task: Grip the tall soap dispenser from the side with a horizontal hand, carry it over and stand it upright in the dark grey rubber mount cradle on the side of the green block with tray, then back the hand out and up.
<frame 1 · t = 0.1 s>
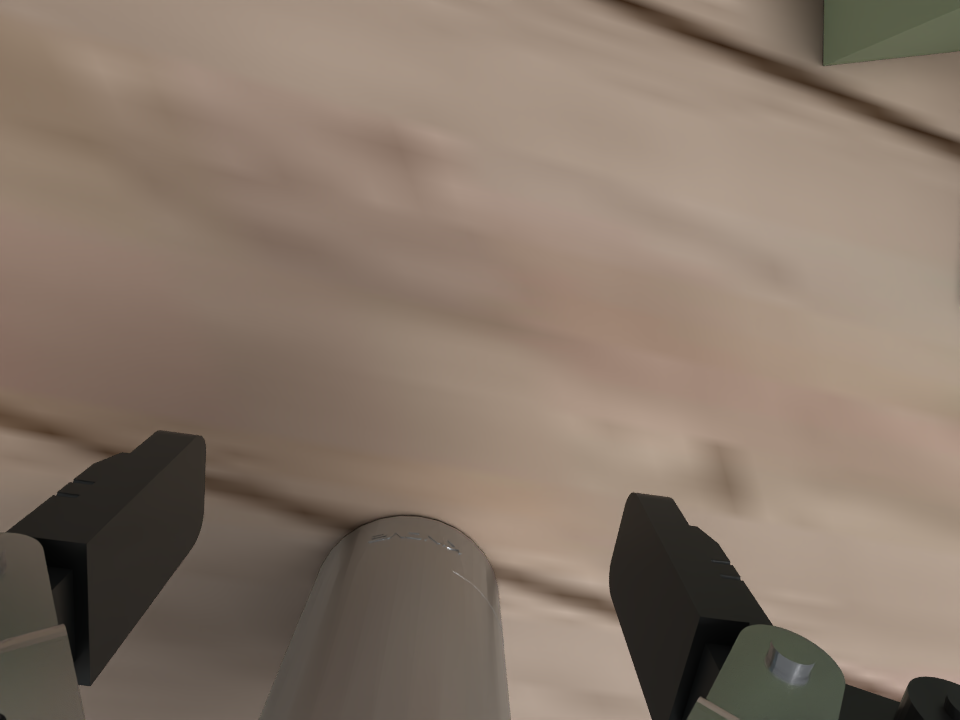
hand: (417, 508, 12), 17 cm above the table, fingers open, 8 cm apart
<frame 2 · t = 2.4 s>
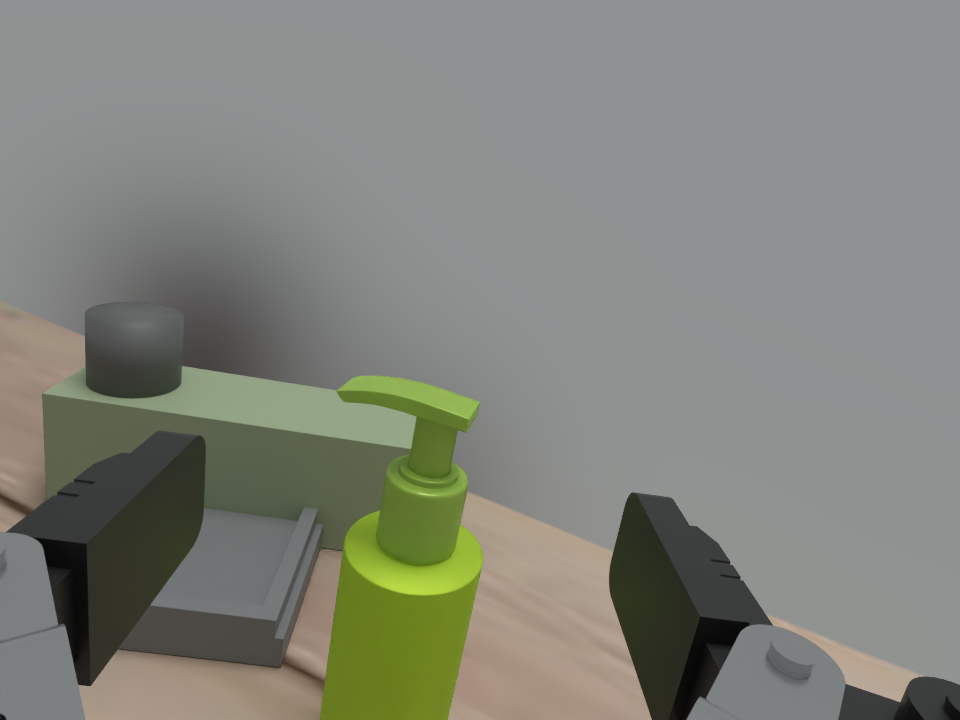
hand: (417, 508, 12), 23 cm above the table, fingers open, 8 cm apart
green block with tray: (210, 582, 40), on the table
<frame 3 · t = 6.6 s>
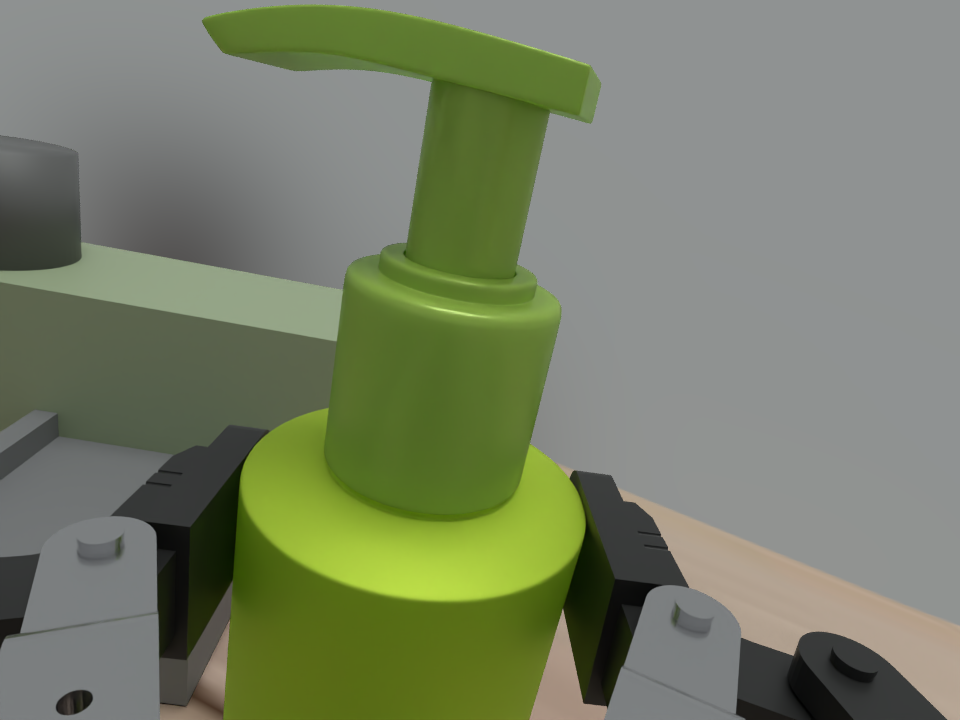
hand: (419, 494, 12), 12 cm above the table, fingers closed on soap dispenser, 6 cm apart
green block with tray: (99, 556, 25), on the table
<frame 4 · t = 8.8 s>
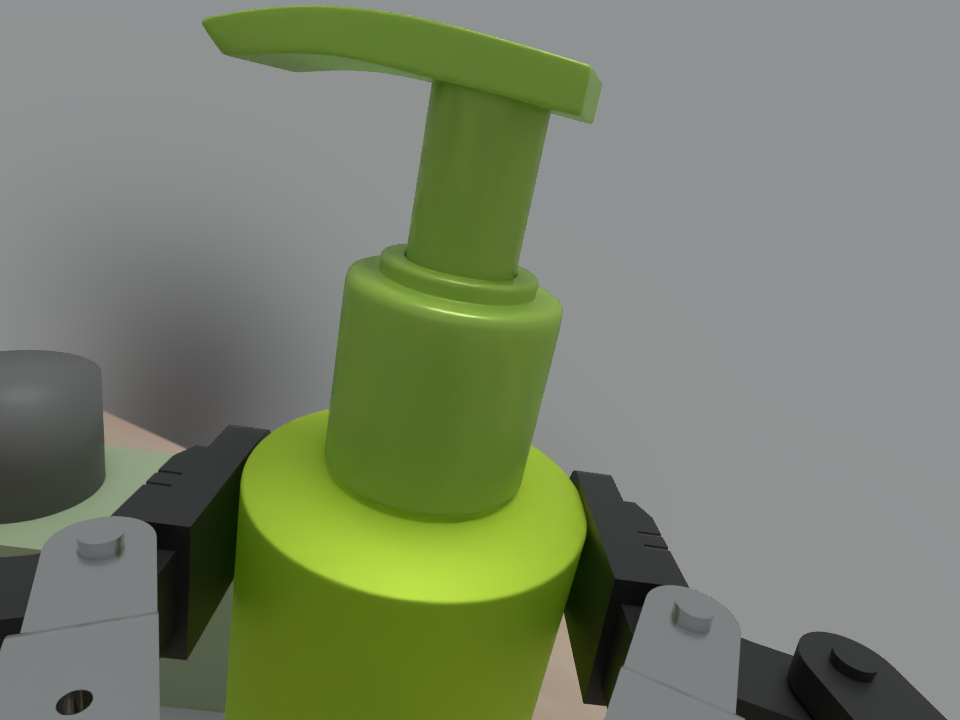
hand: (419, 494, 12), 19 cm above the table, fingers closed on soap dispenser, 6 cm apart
when the fingers open (14 cm above the table, at t = 11.3 s): soap dispenser stays where it is, resting on green block with tray.
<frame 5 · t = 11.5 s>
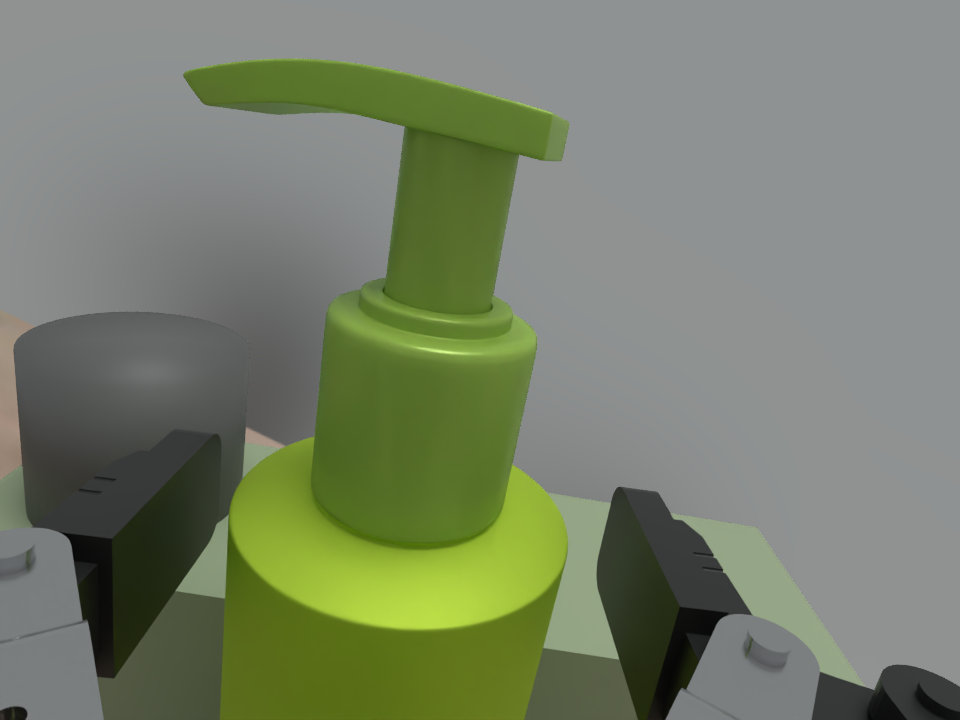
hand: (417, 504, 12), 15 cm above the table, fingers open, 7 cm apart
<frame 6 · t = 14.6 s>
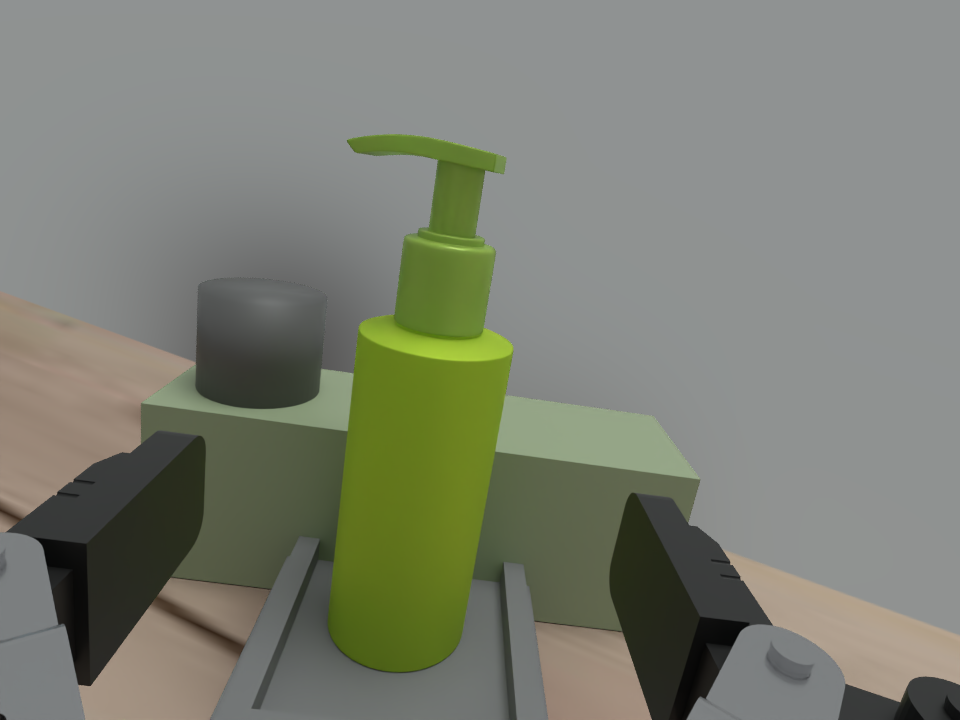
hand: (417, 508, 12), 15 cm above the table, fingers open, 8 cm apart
green block with tray: (393, 682, 27), on the table
soap dispenser: (384, 621, 28), point 2 cm above the table, touching green block with tray
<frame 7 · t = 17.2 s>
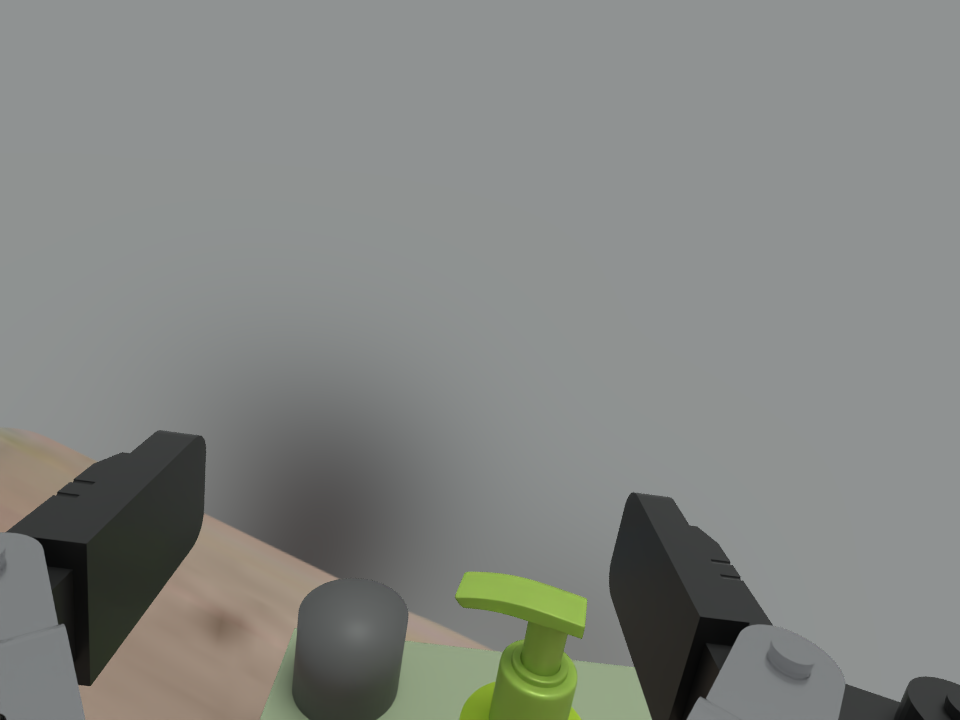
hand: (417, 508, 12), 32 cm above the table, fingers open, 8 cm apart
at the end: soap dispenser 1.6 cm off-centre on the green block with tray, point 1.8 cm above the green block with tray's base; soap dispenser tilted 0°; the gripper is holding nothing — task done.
